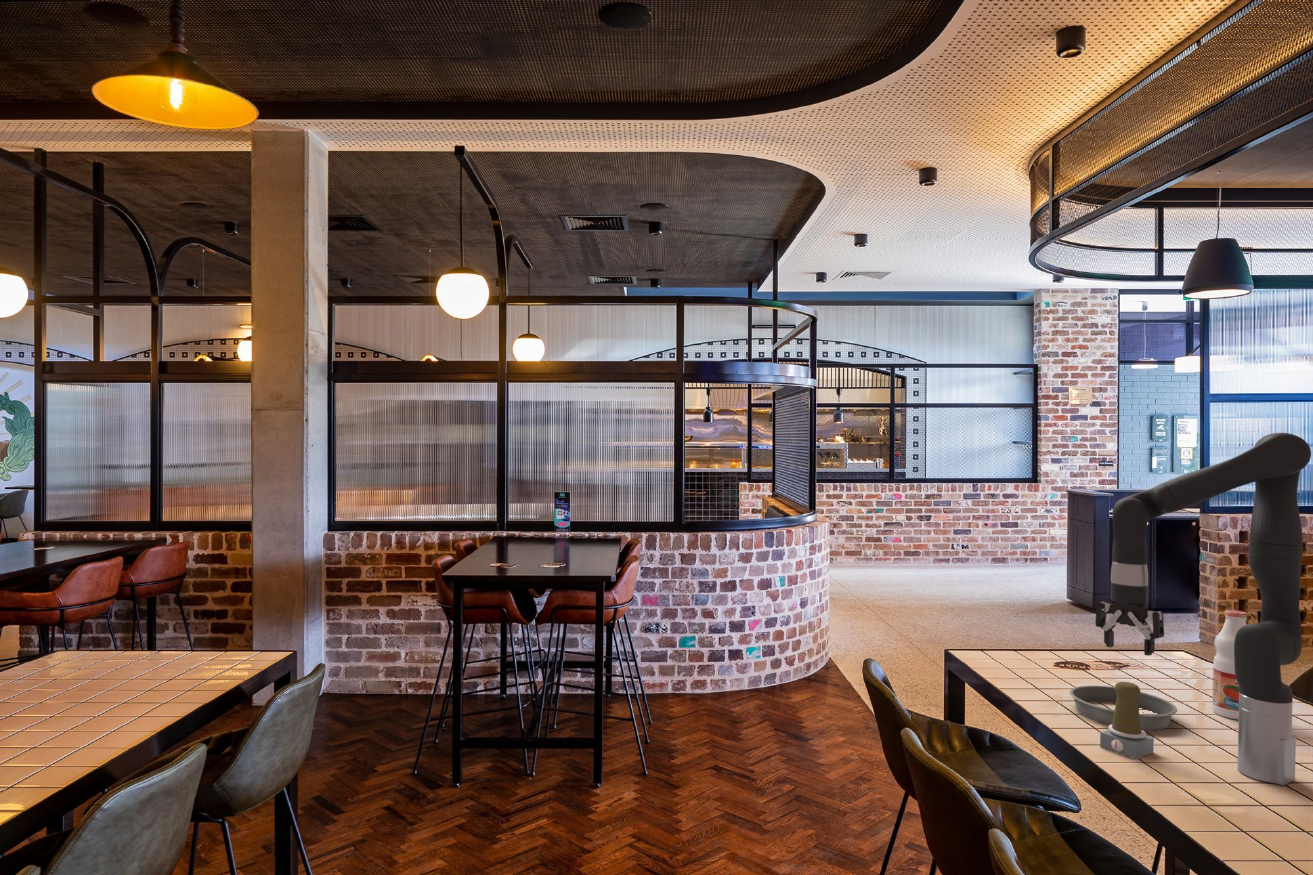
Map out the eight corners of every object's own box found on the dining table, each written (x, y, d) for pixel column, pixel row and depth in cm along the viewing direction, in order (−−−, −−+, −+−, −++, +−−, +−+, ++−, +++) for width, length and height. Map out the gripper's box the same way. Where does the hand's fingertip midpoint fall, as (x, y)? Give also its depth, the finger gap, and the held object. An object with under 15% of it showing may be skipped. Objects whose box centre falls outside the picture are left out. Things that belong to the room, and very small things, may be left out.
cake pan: (1176, 713, 208) (1177, 696, 208) (1176, 740, 188) (1177, 722, 188) (1074, 694, 222) (1074, 678, 222) (1064, 718, 202) (1064, 701, 202)
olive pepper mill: (1114, 723, 185) (1115, 677, 185) (1143, 729, 181) (1144, 682, 181) (1109, 729, 180) (1110, 683, 180) (1139, 736, 176) (1140, 688, 177)
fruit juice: (1237, 709, 212) (1239, 608, 212) (1265, 721, 202) (1267, 616, 203) (1203, 708, 212) (1206, 607, 212) (1229, 721, 202) (1231, 615, 203)
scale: (1153, 752, 179) (1153, 732, 179) (1134, 759, 175) (1135, 739, 175) (1117, 740, 186) (1118, 721, 186) (1099, 747, 182) (1099, 727, 182)
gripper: (1170, 585, 177) (1169, 656, 177) (1106, 576, 189) (1105, 642, 189) (1154, 587, 173) (1153, 660, 173) (1090, 578, 185) (1089, 645, 185)
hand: (1128, 650), depth 181 cm, fingers open, 8 cm apart
